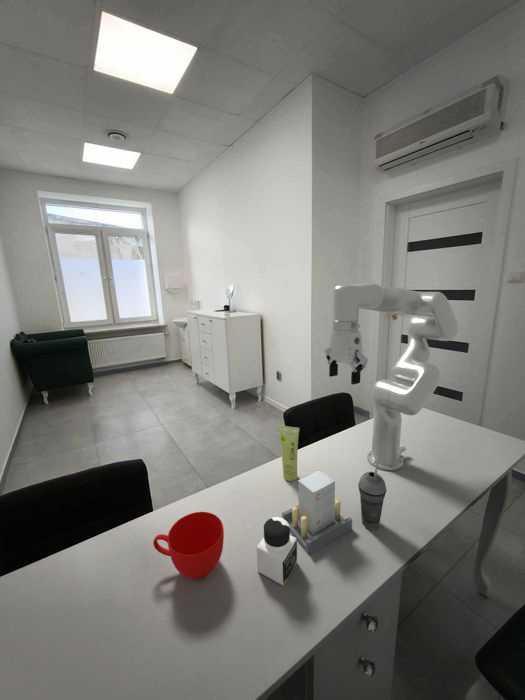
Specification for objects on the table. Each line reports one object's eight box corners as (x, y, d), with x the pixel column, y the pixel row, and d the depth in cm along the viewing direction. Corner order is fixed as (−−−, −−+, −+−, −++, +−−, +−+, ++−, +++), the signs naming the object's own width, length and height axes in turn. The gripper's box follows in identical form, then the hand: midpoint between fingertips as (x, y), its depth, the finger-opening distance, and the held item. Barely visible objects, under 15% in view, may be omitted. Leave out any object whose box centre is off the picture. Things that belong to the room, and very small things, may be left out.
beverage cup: (364, 509, 89) (367, 449, 85) (388, 523, 84) (392, 458, 80) (351, 523, 84) (354, 459, 80) (377, 538, 79) (380, 471, 75)
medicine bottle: (283, 587, 67) (282, 542, 65) (257, 572, 71) (255, 528, 68) (297, 562, 73) (297, 520, 71) (272, 549, 77) (271, 509, 74)
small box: (318, 508, 89) (319, 469, 86) (335, 521, 84) (335, 480, 81) (297, 521, 84) (297, 480, 82) (313, 535, 79) (313, 492, 76)
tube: (284, 483, 102) (283, 431, 98) (279, 474, 107) (278, 424, 103) (299, 480, 104) (299, 428, 100) (294, 471, 109) (293, 421, 104)
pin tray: (323, 502, 93) (323, 483, 91) (351, 529, 82) (352, 508, 81) (282, 522, 85) (281, 502, 84) (308, 554, 75) (308, 531, 74)
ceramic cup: (166, 544, 80) (162, 511, 77) (229, 544, 79) (227, 511, 77) (146, 593, 67) (140, 555, 65) (221, 593, 66) (218, 555, 64)
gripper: (377, 327, 86) (374, 384, 90) (335, 322, 101) (334, 371, 104) (358, 330, 82) (356, 389, 86) (317, 324, 97) (317, 375, 101)
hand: (344, 379), depth 95 cm, fingers open, 9 cm apart
